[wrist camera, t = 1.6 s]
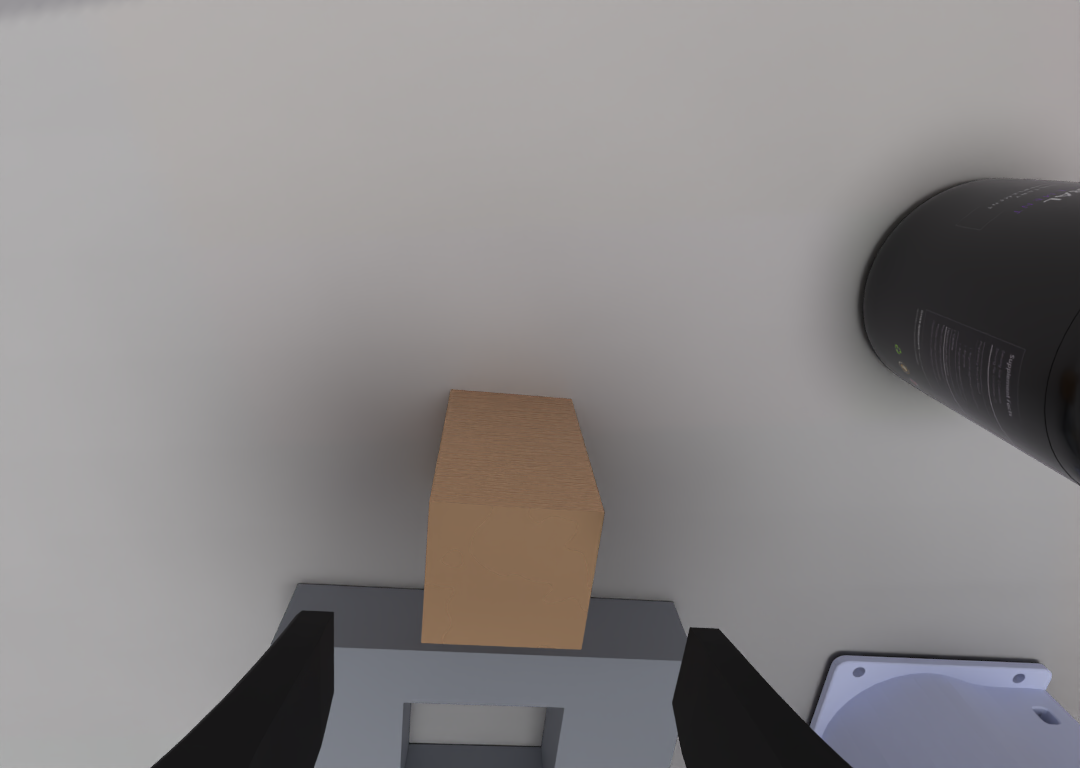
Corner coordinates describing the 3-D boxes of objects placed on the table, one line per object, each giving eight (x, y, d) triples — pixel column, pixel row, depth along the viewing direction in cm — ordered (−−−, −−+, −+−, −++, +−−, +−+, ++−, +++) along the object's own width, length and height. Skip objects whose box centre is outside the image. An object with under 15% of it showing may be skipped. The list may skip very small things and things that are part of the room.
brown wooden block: (571, 398, 21) (604, 512, 15) (556, 502, 22) (581, 649, 16) (450, 389, 21) (429, 501, 14) (443, 495, 22) (421, 642, 16)
